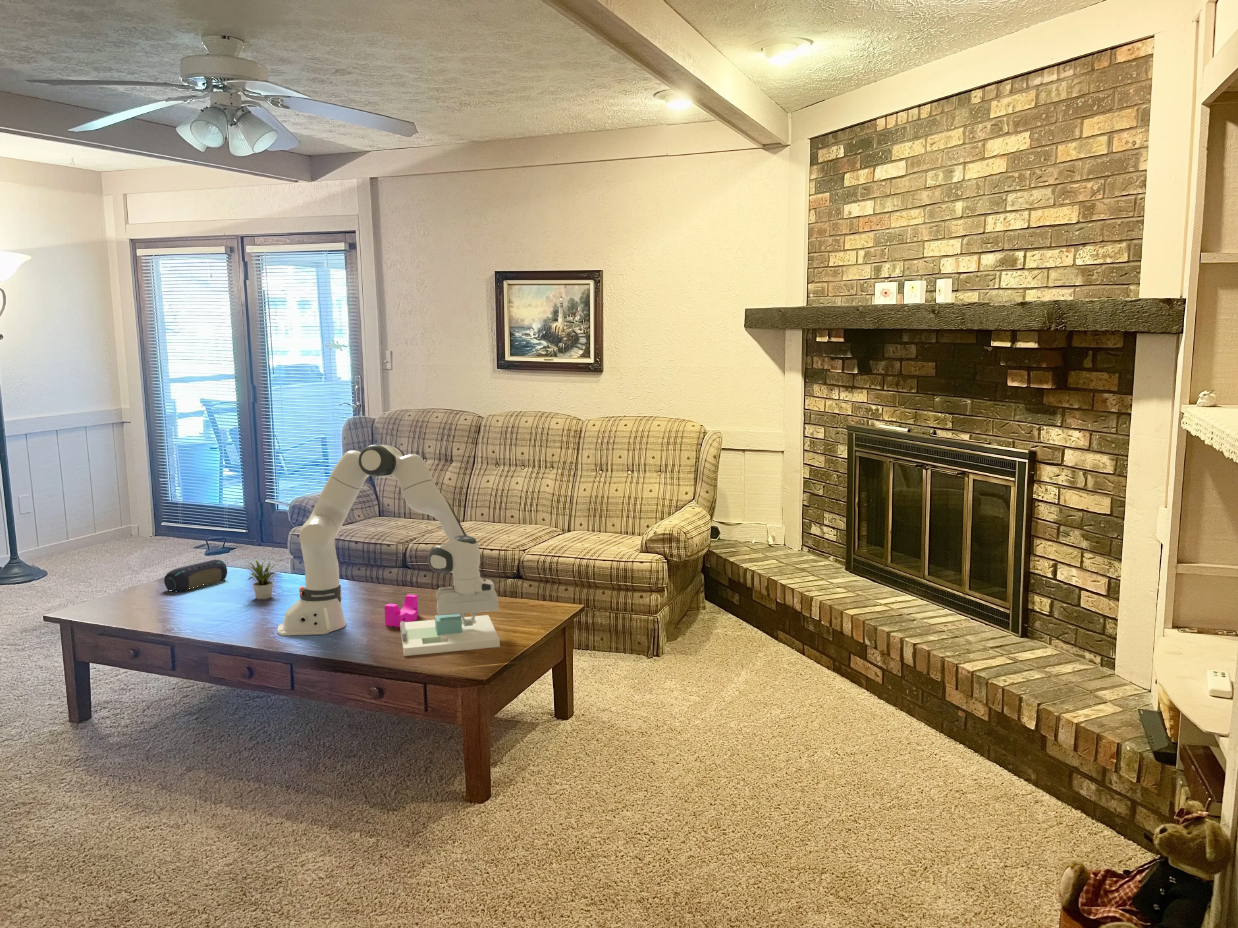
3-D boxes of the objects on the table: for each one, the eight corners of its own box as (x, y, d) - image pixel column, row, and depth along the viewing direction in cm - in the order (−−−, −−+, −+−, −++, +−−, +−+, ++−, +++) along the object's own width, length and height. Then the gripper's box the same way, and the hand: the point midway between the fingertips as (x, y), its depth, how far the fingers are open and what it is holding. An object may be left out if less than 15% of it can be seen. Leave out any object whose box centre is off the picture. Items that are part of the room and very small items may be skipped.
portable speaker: (178, 597, 361) (176, 572, 360) (162, 594, 366) (160, 569, 365) (232, 582, 383) (231, 558, 382) (216, 579, 388) (215, 556, 386)
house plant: (232, 603, 351) (229, 561, 349) (254, 593, 365) (251, 553, 362) (266, 605, 348) (263, 562, 346) (287, 595, 361) (284, 554, 359)
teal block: (437, 634, 302) (436, 621, 301) (435, 628, 308) (434, 615, 308) (461, 632, 304) (461, 619, 303) (459, 626, 310) (459, 613, 310)
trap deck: (403, 655, 289) (403, 640, 288) (400, 629, 316) (399, 615, 315) (499, 646, 297) (499, 631, 296) (488, 621, 324) (488, 607, 323)
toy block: (400, 628, 318) (400, 607, 317) (385, 626, 320) (384, 605, 320) (424, 616, 332) (423, 595, 331) (409, 614, 334) (408, 594, 334)
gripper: (435, 589, 300) (437, 631, 302) (498, 584, 306) (499, 625, 307) (434, 584, 306) (435, 625, 308) (496, 580, 312) (497, 620, 313)
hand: (468, 625), depth 308 cm, fingers closed
